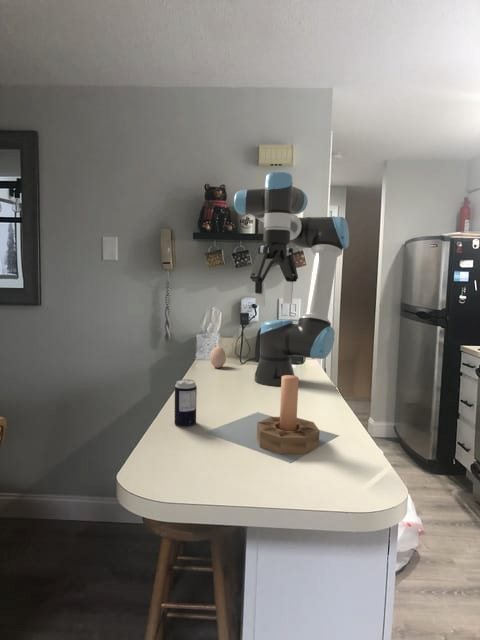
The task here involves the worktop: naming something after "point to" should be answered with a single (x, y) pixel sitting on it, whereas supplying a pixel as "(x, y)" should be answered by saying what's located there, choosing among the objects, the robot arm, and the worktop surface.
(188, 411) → the beverage can
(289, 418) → the tan round-topped peg
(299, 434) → the bead
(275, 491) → the worktop surface
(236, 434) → the mat
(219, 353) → the egg
